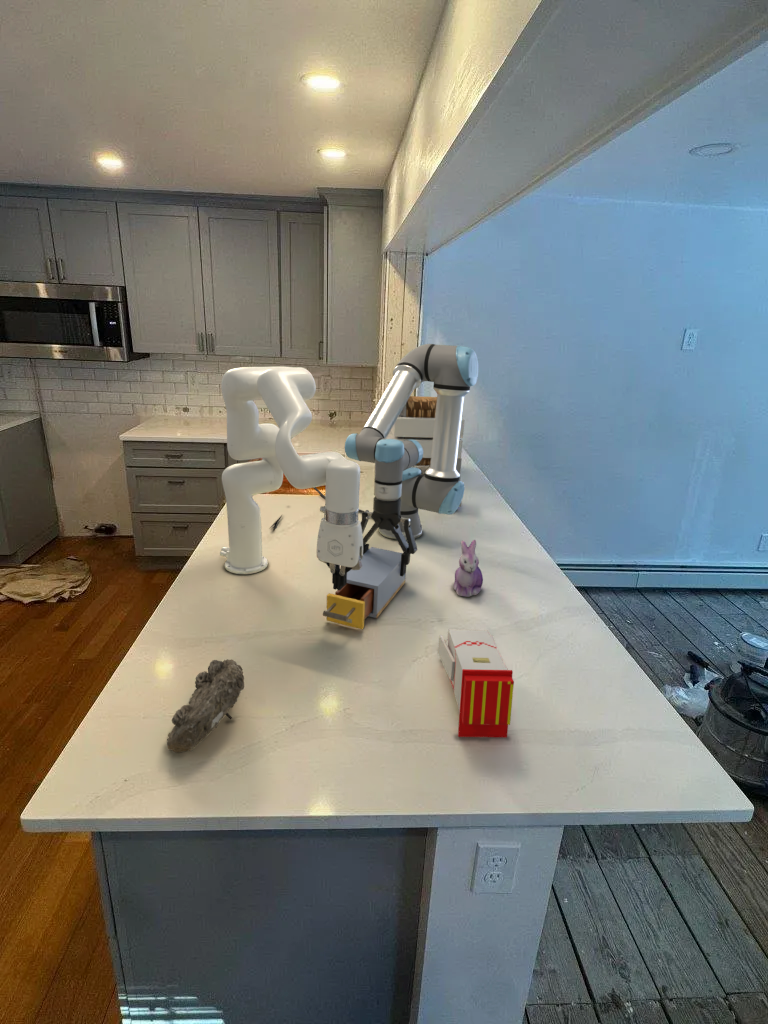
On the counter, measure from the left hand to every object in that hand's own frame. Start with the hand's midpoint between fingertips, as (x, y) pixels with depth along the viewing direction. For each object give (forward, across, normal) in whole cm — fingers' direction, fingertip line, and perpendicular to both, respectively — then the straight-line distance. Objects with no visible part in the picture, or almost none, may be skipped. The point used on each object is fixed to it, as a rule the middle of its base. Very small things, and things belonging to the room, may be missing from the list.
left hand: (339, 587), depth 134 cm
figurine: (+12, +24, +36) cm, 44 cm away
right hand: (+8, +1, +28) cm, 29 cm away
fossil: (+12, -8, -38) cm, 40 cm away
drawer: (+11, +1, +9) cm, 15 cm away
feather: (+14, -53, +60) cm, 81 cm away
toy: (+11, +35, -9) cm, 38 cm away
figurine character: (+13, 0, +104) cm, 105 cm away
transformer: (+14, -27, +145) cm, 148 cm away
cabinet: (+12, +1, +21) cm, 24 cm away
